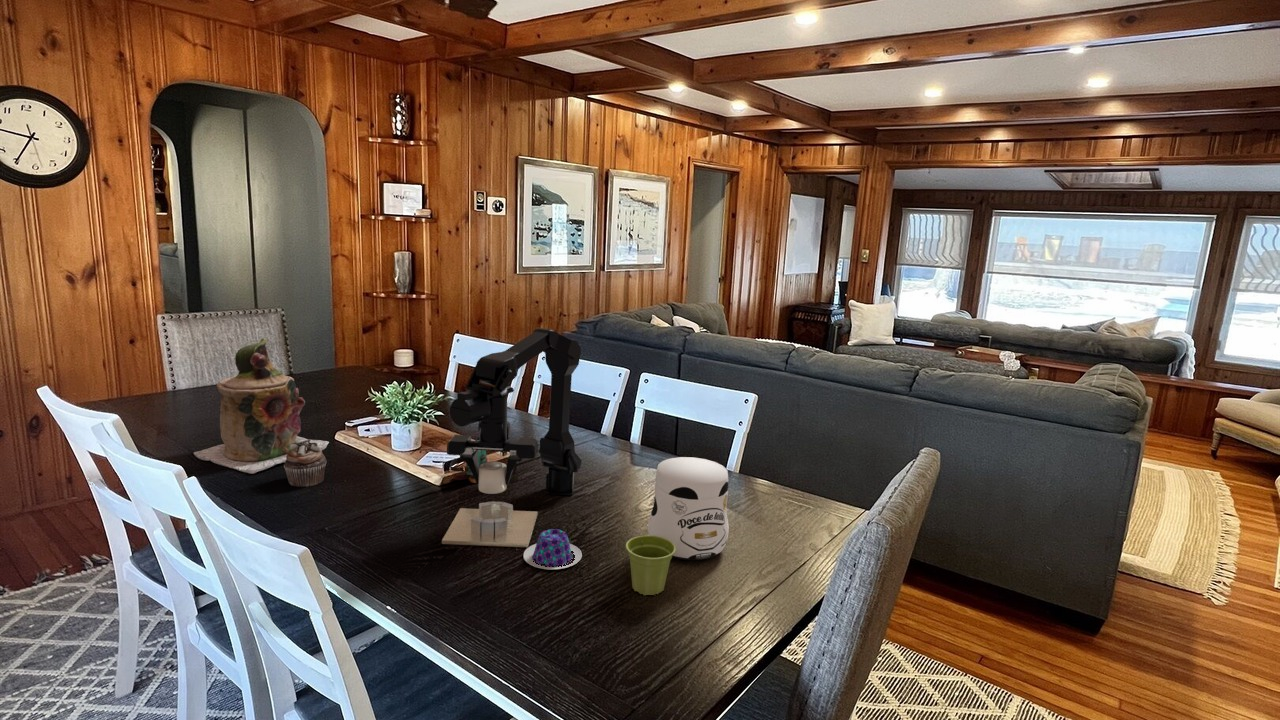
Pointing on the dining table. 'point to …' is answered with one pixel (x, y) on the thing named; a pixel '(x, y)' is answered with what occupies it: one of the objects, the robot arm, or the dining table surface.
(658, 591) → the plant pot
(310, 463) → the cupcake
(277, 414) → the cookie jar
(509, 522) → the wooden board
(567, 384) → the robot arm
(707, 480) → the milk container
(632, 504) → the dining table surface
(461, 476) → the binoculars
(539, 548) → the pudding
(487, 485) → the cap
